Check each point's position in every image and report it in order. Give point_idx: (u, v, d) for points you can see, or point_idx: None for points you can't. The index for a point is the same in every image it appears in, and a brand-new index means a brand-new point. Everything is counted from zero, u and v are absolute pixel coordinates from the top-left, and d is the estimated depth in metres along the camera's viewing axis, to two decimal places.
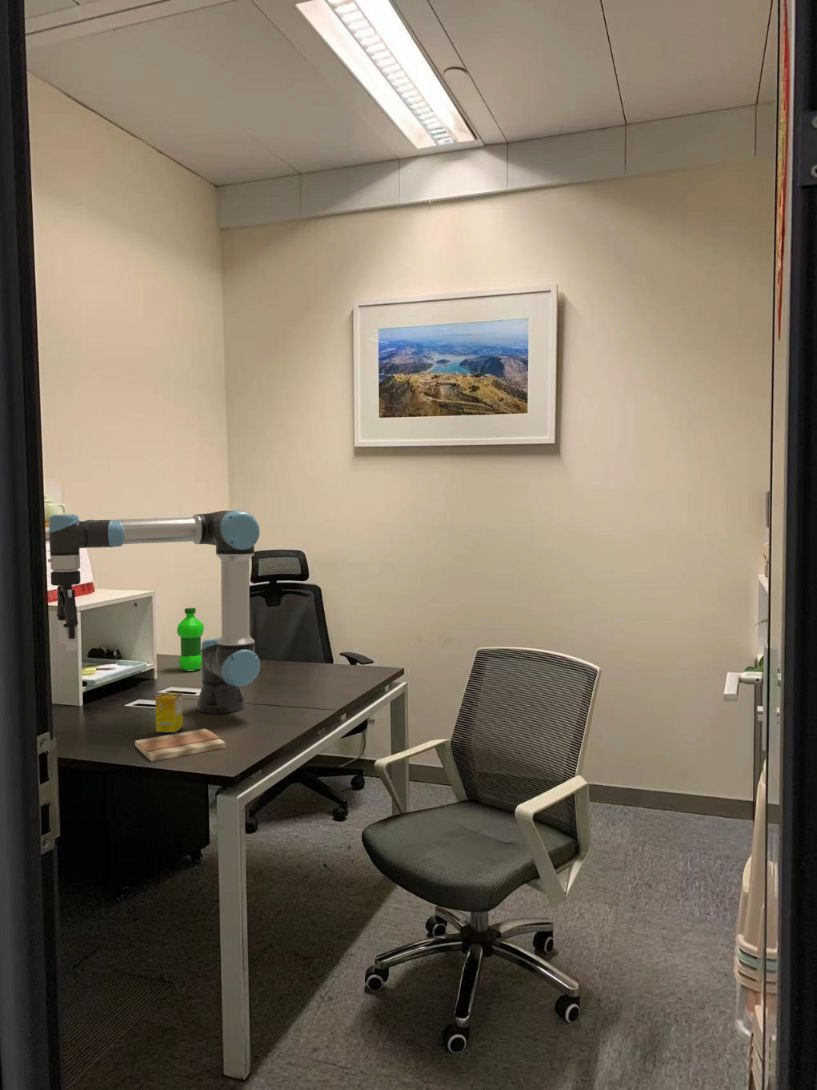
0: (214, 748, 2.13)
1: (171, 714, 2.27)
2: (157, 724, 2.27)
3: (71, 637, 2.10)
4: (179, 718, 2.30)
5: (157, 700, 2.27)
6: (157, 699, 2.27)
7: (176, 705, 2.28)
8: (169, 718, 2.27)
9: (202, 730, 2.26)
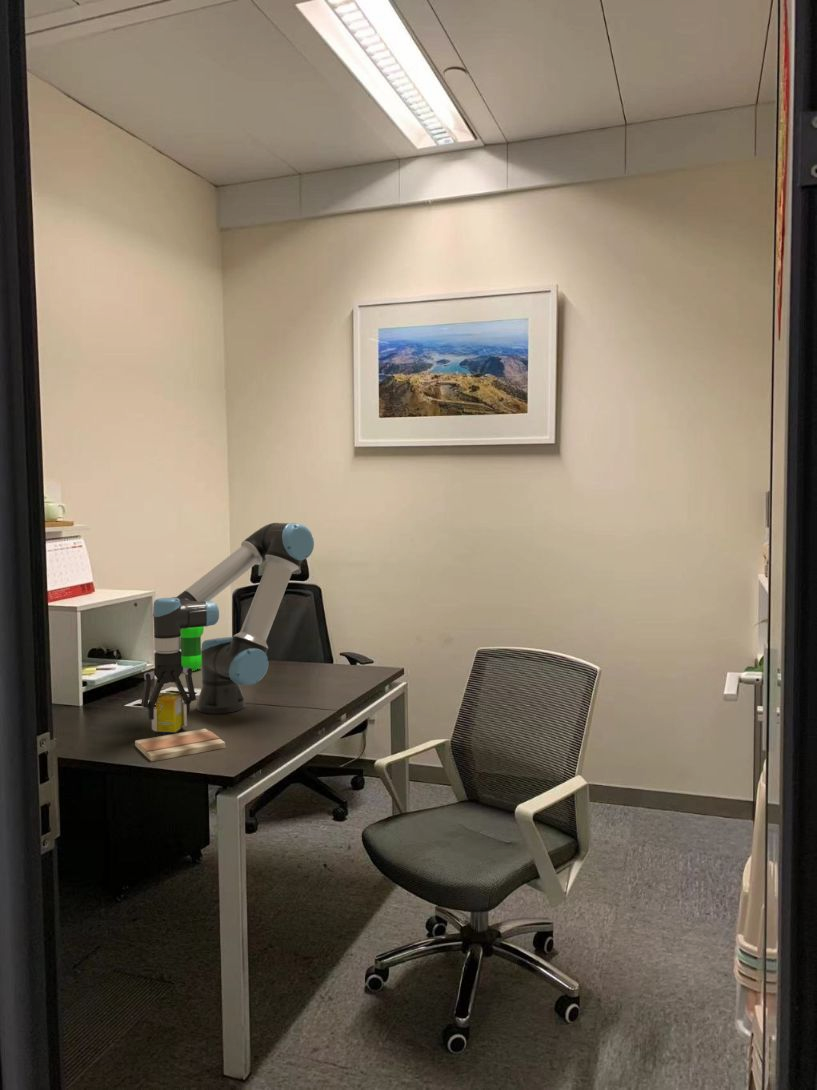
0: (214, 748, 2.13)
1: (171, 714, 2.27)
2: (157, 724, 2.27)
3: (148, 717, 2.27)
4: (179, 718, 2.30)
5: (157, 700, 2.27)
6: (157, 699, 2.27)
7: (176, 705, 2.28)
8: (169, 718, 2.27)
9: (202, 730, 2.26)
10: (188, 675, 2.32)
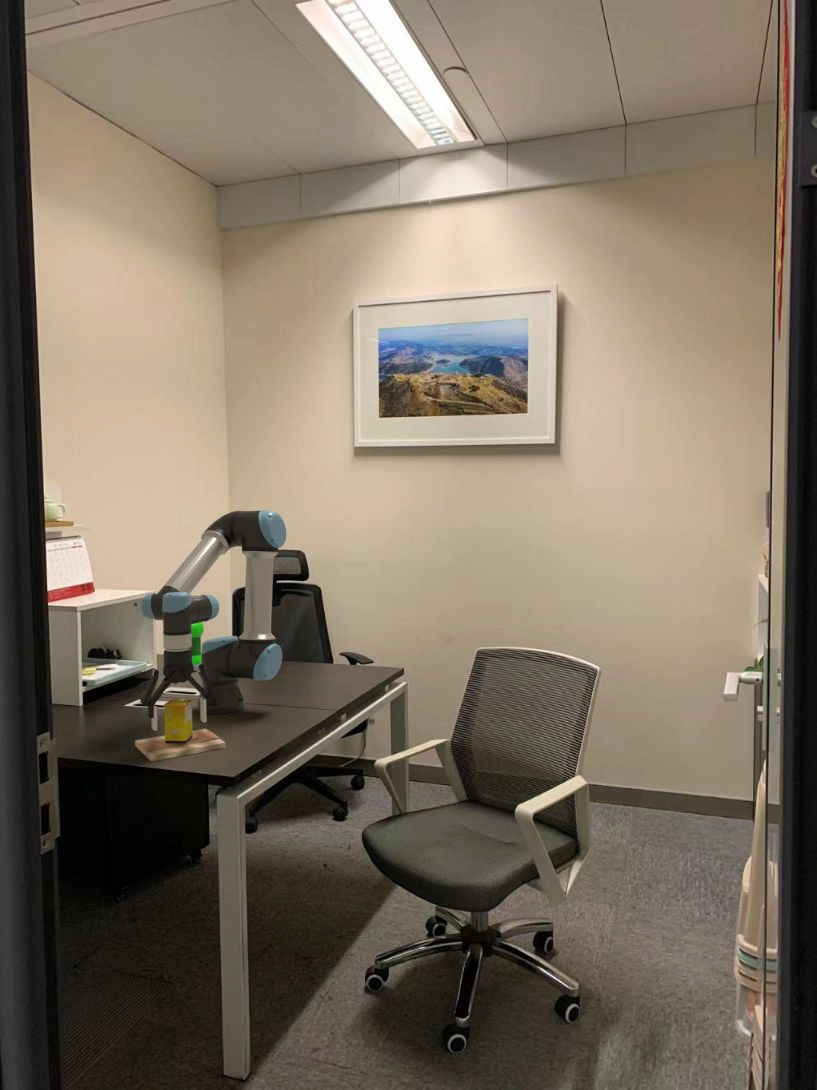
0: (214, 748, 2.13)
1: (181, 722, 2.13)
2: (166, 732, 2.13)
3: (148, 716, 2.11)
4: (189, 725, 2.16)
5: (166, 707, 2.13)
6: (166, 706, 2.13)
7: (186, 712, 2.14)
8: (179, 726, 2.13)
9: (202, 730, 2.26)
10: (201, 672, 2.17)
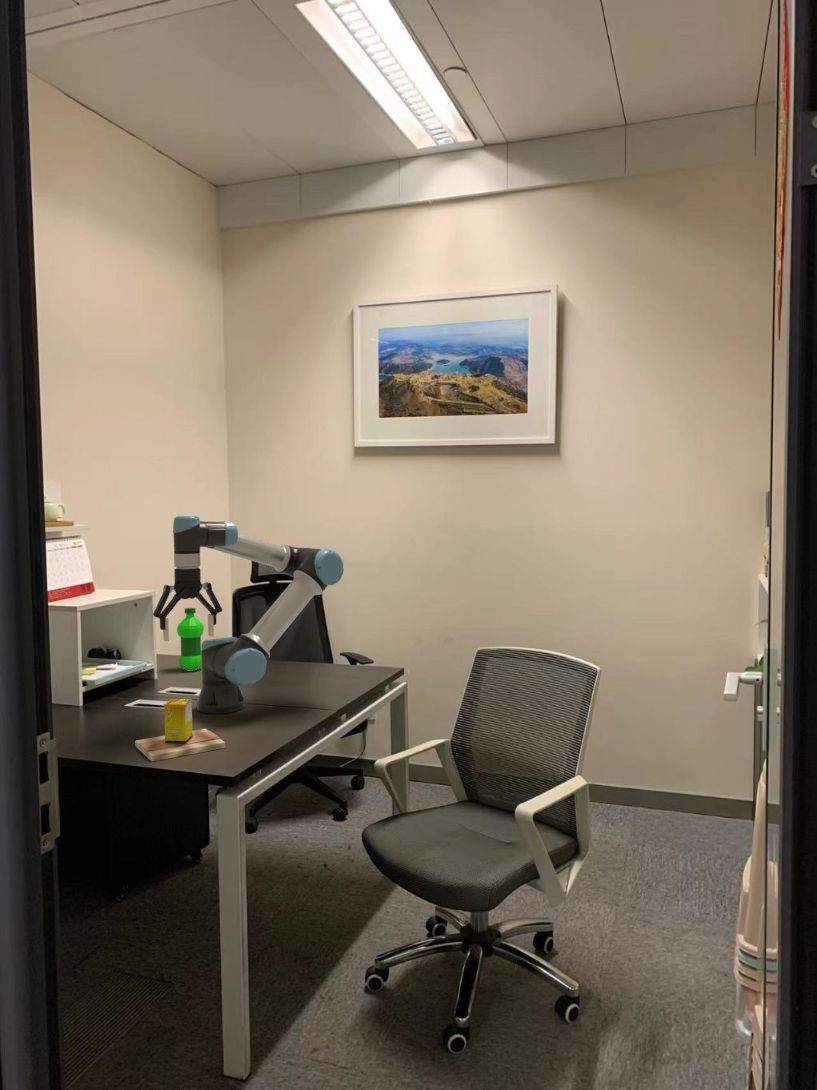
0: (214, 748, 2.13)
1: (181, 722, 2.13)
2: (166, 732, 2.13)
3: (160, 628, 2.30)
4: (189, 725, 2.16)
5: (166, 707, 2.13)
6: (166, 706, 2.13)
7: (186, 712, 2.14)
8: (179, 726, 2.13)
9: (202, 730, 2.26)
10: (208, 589, 2.36)
